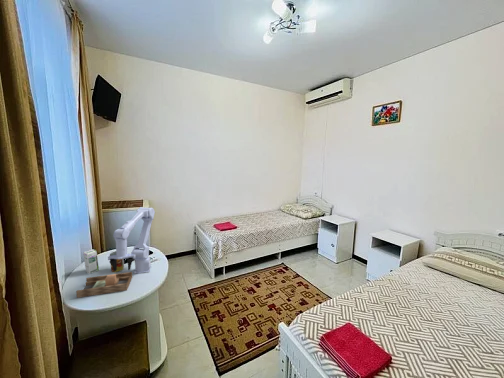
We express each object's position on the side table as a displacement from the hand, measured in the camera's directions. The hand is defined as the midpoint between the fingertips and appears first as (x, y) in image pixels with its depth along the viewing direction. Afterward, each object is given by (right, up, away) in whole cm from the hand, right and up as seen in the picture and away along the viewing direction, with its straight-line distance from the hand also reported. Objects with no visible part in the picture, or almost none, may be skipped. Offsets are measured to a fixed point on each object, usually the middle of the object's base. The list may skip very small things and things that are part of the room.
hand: (122, 270), depth 133 cm
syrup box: (-30, -7, +16) cm, 35 cm away
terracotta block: (-6, -8, -1) cm, 10 cm away
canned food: (-14, -7, +19) cm, 25 cm away
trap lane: (-9, -10, -1) cm, 13 cm away
